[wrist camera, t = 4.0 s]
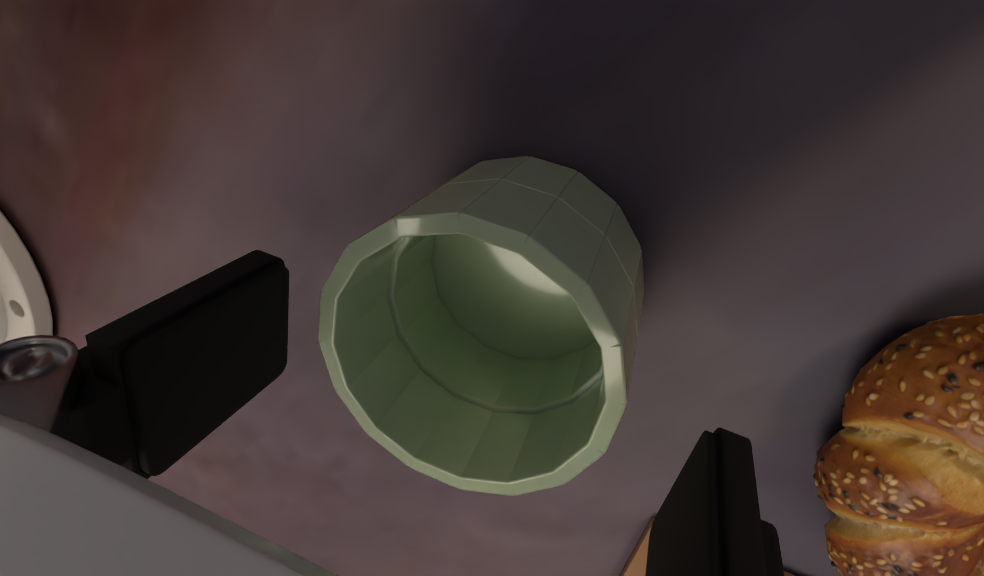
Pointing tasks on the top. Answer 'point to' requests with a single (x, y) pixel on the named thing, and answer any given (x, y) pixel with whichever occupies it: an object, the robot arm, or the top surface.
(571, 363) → the green cup
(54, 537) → the robot arm
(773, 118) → the top surface
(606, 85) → the top surface
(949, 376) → the seeded bagel
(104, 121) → the top surface
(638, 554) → the cork mat
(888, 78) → the top surface
